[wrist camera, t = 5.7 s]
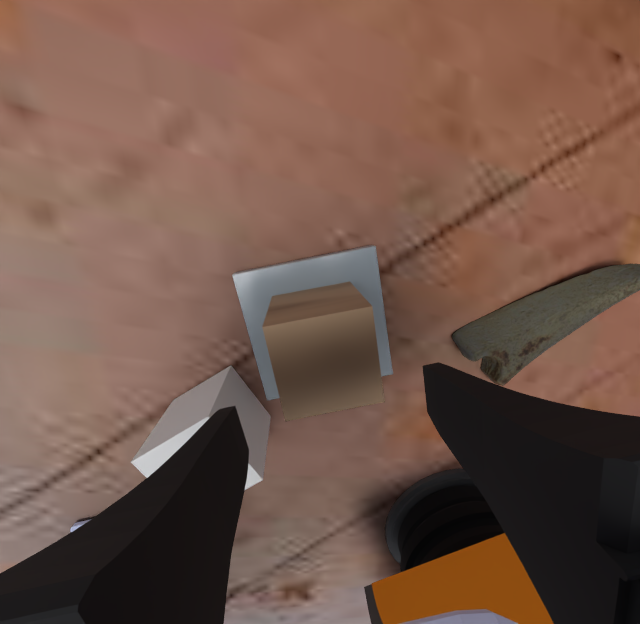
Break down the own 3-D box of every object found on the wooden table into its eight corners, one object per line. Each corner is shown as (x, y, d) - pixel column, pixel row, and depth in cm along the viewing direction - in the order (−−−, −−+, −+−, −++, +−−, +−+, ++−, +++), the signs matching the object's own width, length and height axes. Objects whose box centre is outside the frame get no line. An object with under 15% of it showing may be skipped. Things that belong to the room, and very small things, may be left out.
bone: (470, 386, 24) (499, 412, 20) (446, 333, 23) (474, 351, 19) (624, 307, 23) (682, 320, 20) (609, 247, 22) (669, 250, 18)
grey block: (270, 415, 23) (262, 480, 17) (215, 447, 24) (190, 520, 18) (231, 364, 22) (208, 416, 16) (173, 399, 22) (130, 461, 16)
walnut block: (360, 352, 21) (384, 401, 15) (288, 366, 21) (285, 421, 15) (349, 281, 20) (372, 306, 14) (272, 295, 19) (262, 327, 14)
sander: (646, 509, 29) (899, 717, 17) (398, 602, 30) (468, 861, 18) (631, 381, 25) (956, 536, 13) (343, 495, 26) (386, 739, 14)
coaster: (388, 367, 23) (392, 374, 22) (268, 392, 22) (267, 400, 21) (371, 244, 20) (375, 245, 19) (235, 272, 20) (232, 274, 19)
